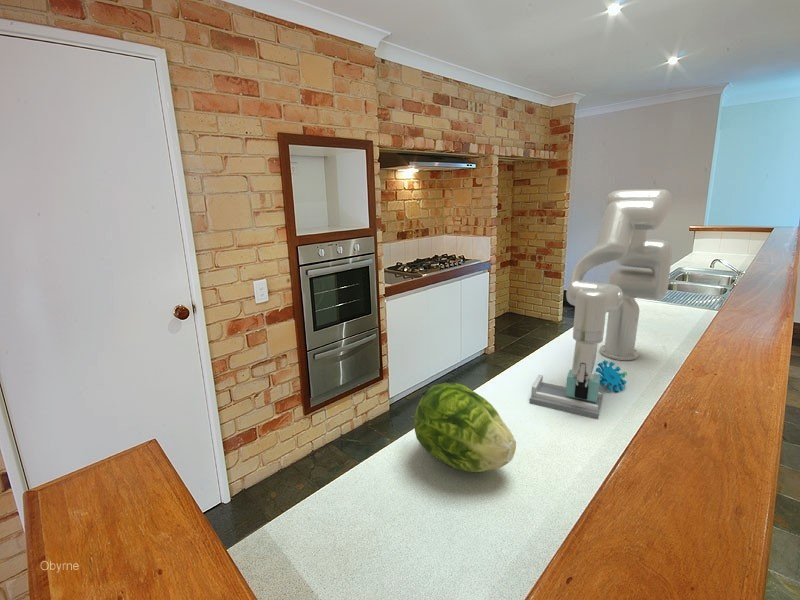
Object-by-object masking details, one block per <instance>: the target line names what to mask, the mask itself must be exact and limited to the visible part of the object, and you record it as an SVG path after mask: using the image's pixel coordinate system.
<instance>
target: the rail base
mask: <svg viewBox="0 0 800 600" xmlns="http://www.w3.org/2000/svg"><path fill="white" fill-rule="evenodd" d="M543 379H544V378H543V374H537V377H536V379H535V380H534V382H533V383H532V385H531V394H530V398H529V404H533V405H537V406H541V407H545V408H550V409H554V410H558V411H563V412H566V413H571V414H574V415H580V416H583V417H588V418H592V419H594V420H595V419H596V420H599V416H600V412H601V408H602V403H603V397H604V394H603V393H602V392H600V391H599V393H598V398H597V402H592V401H587V400H582V399H578V398H573V397H569V396H565V394H566V384H562V383H557V382H552V381H551V382H550V381H547V380H543Z"/></svg>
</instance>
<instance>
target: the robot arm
mask: <svg viewBox="0 0 800 600" xmlns="http://www.w3.org/2000/svg"><path fill="white" fill-rule="evenodd" d="M672 201H673V199H672V194H671V192H670V191H669V190H667V189H661V188H659V189H658V188H657V189H655V188H653V189H651V188H650V189H621V190H620V189H619V190H613V191H612V192H610V193H609V194H608V195H607V196H606V208H605V212H604V214H603V215H604V216H603V218H602V222H601V226H600V231H599V233H598V237H597V240H596V244H595V246H594V247H593V248H592V249H591V250H590V251H588V252H587V253H586V254H584V255H583V256H582V257H581V258H580V259H579V260H578V261H577V263H576V264H575V265H574V267H573V269H572V270H571V272H570V273H571V274H570V277H569V281H568V283H567V288H566V293H565V294H566V296H565V297H566V300H567V302H568V303H569V304H570V305H572V306H574V319H573V329H572V338H573V340H574V341H575V344H574V350H573V351H574V352H573V357H572V358H573V361H572V368H571V370H572V374H573V375H576V374H577V372H578V374H577V382H576V386H575V397H576V398H580V399H585V400H586V399H587V396H588V386H587V385H588V378H589V377H591V374H593V372H594V371H593V370H594V367H595V364H596V359H597V353H598V351H597V350H598V346H599V345H598V344H601V343H603V341H605V342H604V344H603V345H602V346H600V347H599V353H600V354H601V355H602V356H604V357H607V358H609V359H612V360H616V361H617V360H618V361H634V360H636V359H638V358H639V355H640V353H639V352H638V351H637V350H636V349H635V348H636V347H635V346H636V341H637V333H638V326H639V318H640V306H639V304H638V303H637V301H636V299H635V298H638V299H645V300H654V301H655V300H659V301H660V300H662V299H664V298H665V297H666V295H667V293H668V288H669V284H670V283H669V282H670V274H671V273H670V272H671V265H672V254H673V248H672V245H671V244H670V242H669V241H667V240H663V239H656V238H654V239H652V238H651V239H650V238H647V231H654V230H657V229H658V228H660V227H661V226H662V225H663V222H664V220H665V219H666V217H667V216H668V214H669V212H670V211H671V207H672V204H673V203H672ZM613 261H616V263H617V264H618V265H619V266H622V267H630V268H618V269H615V270H613V271H612V272H611V273H610V275H609V278H608V283H603V282H598V281H597V282H596V281H588V280H584V277H585V275H586V274H587V273H588V272H589V271H590V270H592V269H593V268H595V267H597V266H600V265H603V264H606V263H610V262H613ZM636 268H637V269H636ZM638 268H639V269H638ZM640 268H641V269H640ZM646 269H650V270H646ZM606 314H607V315H606ZM606 316H607V323H606ZM605 325H606V332H605ZM604 334H605V340H604ZM585 373H586V374H587V375H585ZM584 378H586V381H585V380H584Z"/></svg>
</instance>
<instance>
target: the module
mask: <svg viewBox="0 0 800 600" xmlns="http://www.w3.org/2000/svg"><path fill="white" fill-rule="evenodd" d="M577 374H578V372H577ZM577 374H576V375H573V374H572V369H569V371H568V374H567V376H566V383H565V385H566V394H565V396H569V397H573V398H576V397H575V386H576V382H577ZM585 375H587V374H586V373H585ZM600 375H601V374H600ZM600 375H598V374H596V373H592V374H591V377H589V378H588V385H587V386H588V396H587V399H586V400H587V401H592V402H597V398H598V393H599V392H600V384H601V383H600ZM584 380H585V381H586V378H584ZM578 399H580V398H578ZM582 400H585V399H582Z"/></svg>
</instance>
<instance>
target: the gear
mask: <svg viewBox="0 0 800 600" xmlns="http://www.w3.org/2000/svg"><path fill="white" fill-rule="evenodd" d="M608 364H609V365H608ZM597 366H598V367H596V368H595V372H596V373H598V374H597V375H600V383H599V384H601V386H602V387H606V386H607V385H609V386H607V387H606V388H607V391H609V392H612V391H613V392H614V393H619V392H621V391H622V390H625V389H626V388H625V385H626V384H627V380H625V379H624V378H626V376H628V373H627V371H623V372H621V373H620V371H621V370H622V369H621V367H620V366H616V367H615V368H614V366H615V362H613V361H610V362H609V361H607V360H606V359H605V360H603V361H602V362H599V363H598V364H597Z"/></svg>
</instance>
